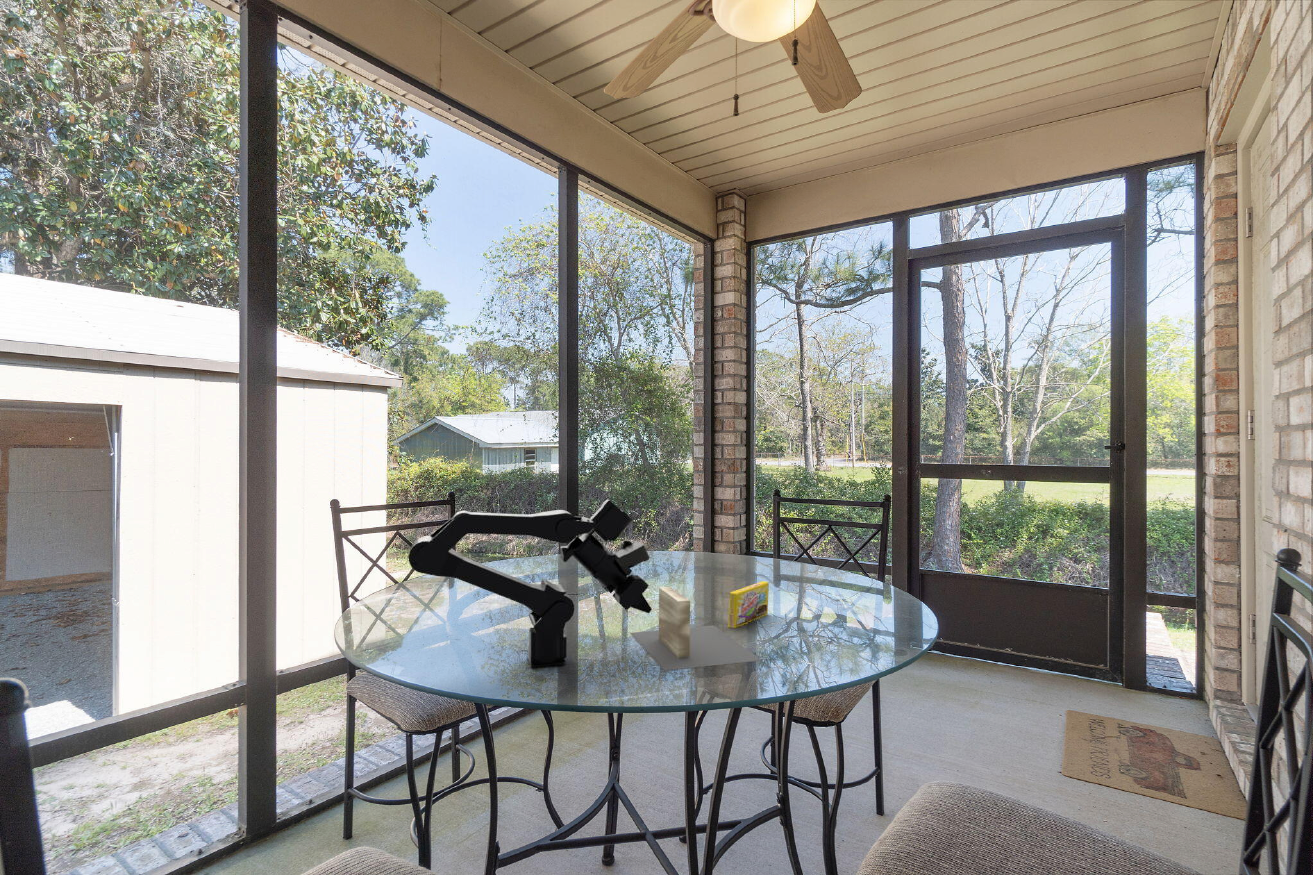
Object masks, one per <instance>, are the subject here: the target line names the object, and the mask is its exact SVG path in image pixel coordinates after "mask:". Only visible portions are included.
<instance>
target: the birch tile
mask: <svg viewBox="0 0 1313 875" xmlns="http://www.w3.org/2000/svg"><path fill="white" fill-rule="evenodd" d="M690 627H691V600H690V599H688V598H687V597H685V595H683V594H681V593H680V592H679V591H677V590H675V589H674V588H673V587H672V586H665V587H664V586H663V587H661V586H660V587H659V588H658V630H659V640H660V641H661V642H662V643H663V644H664V645H665V646H666V647H667V648H668V649H669V650H670V651H671V652H672V653H673V654H674V655H676V656H677V657H678V658H679V657H689V656H690Z"/></svg>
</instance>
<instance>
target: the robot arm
mask: <svg viewBox="0 0 1313 875" xmlns="http://www.w3.org/2000/svg"><path fill="white" fill-rule="evenodd" d="M633 522H634V521H633V520H632V518H631V517H630V516H629V515H628V514H627V512H625V511H624V510H622V509H621V508H620V507H619V506H617V505H615V504H614V503H613V501H611V500H610V499H606V500H605V501H603V503H602V504H601V506H600V507H599V508H598V509H597V510H596V512H595V513H594V514H592V516H591V517H590V518H588V517H585V516H575V515H574V514H572V513H571V512H569V511H567V510H564V509H557V510H549V511H542V512H537V513H531V514H524V513H523V514H520V513H499V512H498V513H497V512H494V513H493V512H476V511H475V512H474V511H473V512H472V511H467V510H459V511H458V512H455V514H454V515H453V516H452V517H451V518H450V519H449V520H447V521H446V522H445V523H444V524H442V525H441V526H439V527H438V528H437V529H436V530H435V531H434V532H433V533H431V534H430V535H425V536H422V537H419V538H417V539H416V540H415V541H414V542H413V543H412V544H411V547H410V550H409V554H408V563H409V565H410V567H411V569H413V570H414V571H415V572H417V573H420V574H425V575H429V576H435V577H441V578H443V577H444V578H453V579H457V580H460V581H462V582H464V583H466V584H470V585H472V586H475V587H478V588H479V589H482V590H485V591H488V592H490V593H492V594H495V595H497V596H499V597H503V598H505V599H508V600H510V601H514V602H515V603H518V604H520V605H523V606H525V607H526V608H527V609H529V610H530V612H529V613H528V617H529V620H530V623H531V625H532V626H533V627H529V628H528V654H527V661H528V664H529V666H530V668H532V669H533V668H534V669H535V668H544V667H545V668H546V667H555V666H564V665H566V659H567V654H568V653H567V648H568V647H567V645H568V643H567V640H568V639H567V636H566V634H565V628H566V627H565V626H566V623H568V622H569V621H570V620H571V619H572V617H573V615H574V612H575V603H574V602H573V600H572V598H571V597H570V596H569V595H568V593H567V591H566V590H565V589H564V587H563V586H562V585H561V584H560V583H553V582H551V581H549V580H547V579H546V578H544V577H543V578H542V579H541V581H540V584H538V583H537V584H536V583H530V582H527V581H525V580H523V579H519V578H517V577H514V576H513V575H510V574H507V573H506V572H505V573H504V572H503V571H500V570H497V569H495V568H493V567H491V566H488V565H485V564H483V563H480V562H477V561H475V560H473V559H470V558H468V557H465V556H463V555H461V554H460V553H459V552H458V551H456V550H454V547H455V546H456V545H457V544H458V543H459V542H460V541H461V540H462V539H463V538H464V537H465V536H466V535H467V534H473V535H475V534H476V535H477V534H478V535H506V536H507V535H508V536H510V535H511V536H530V537H536V538H539V539H541V540H547V541H551V542H555V543H561V544H567V545H561V546H560V547H559V548H560V559H561V560H562V562H564V563H566V562H568V561H569V560H570V559H571V558H574V559H575V561H577V563H578V564H580V565H581V566H582V567H583V568H584V569H585V570H586V571H587V573H588V574H590V575H591V576H592V577H593V578H594V579H595V580H596V581H597V582H598V584H599V585H600V586H601V587H602V589H604V590H605V591H606V592H609V593H610V594H612V593H613V594H612V597H613V598H614V600H615V601H616V602H617V603H618V604H619V605H620V606H621V607H622V608H623V609H624V610H625V611H628V610H630V608H632V609H635V610H638V611H640V612H643V613H647V614H650V613H651V612H652V609H653V608H652V607H651V606H650V603H649V602H648V601H647V599H646V597H645V596H644V593H645V592H646V590H647V589H648V588H649V584H648V582H646V581H645V580H644V579H643V578H642V577H641V576H639V575H638V574H633V569H631V568H634V567H637V566H638V565H640V564H641V563H643V562H644V563H645V562H647V561H649V560H650V559H651V558H650V556H649V553H648V551H647V548H646V546H645V544H644V543H642V542H641V541H634V542H632V541H630V540H629V539H624V540H623V541H620V549H618V551H617V552H616V553H614V552H613V551H611V550H609V549H608V548H607V547H606V546H604V544H602V542H600V541H599V539H597V537H595V535H594V534H596V536H598V537H599V538H600V539H601V540H602V541H603V542H604V543H607V542H608V541H609V542H610V543H611V542H612V543H615V541H617V539H618V538H619V537H620V536H621V535H622V534H623V533H624V531H626V529H627V528H629V526H630V525H631V524H632V523H633ZM631 573H632V574H631Z"/></svg>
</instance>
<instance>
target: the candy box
mask: <svg viewBox="0 0 1313 875" xmlns="http://www.w3.org/2000/svg"><path fill="white" fill-rule="evenodd" d="M769 584H770V582H768V581H765V580H762V581H759V582H757V583H754V584H750V585H747V586H745V587H742V588H740V589H736V590H733V591H730V592H729V604H728V606H729V607H728V625H727V626H728V628H732V629H736V628H738V627H740V626H741V627H743V626H745V625H748V624H749V623H748V622H750V623H752V622H753V621H752V620H754V621H756V620H758V619H761V618H763V617H765V616H767V615H768V613H769V611H768V610H769V591H770V590H769ZM764 615H765V616H764ZM760 617H761V618H760ZM755 619H756V620H755ZM751 621H752V622H751ZM744 624H745V625H744Z"/></svg>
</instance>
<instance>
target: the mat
mask: <svg viewBox="0 0 1313 875" xmlns="http://www.w3.org/2000/svg"><path fill="white" fill-rule="evenodd" d="M629 634H630V635H631V636H632V638H634V640H635V641H636V642H637V643H638V644H639V645H640V646H641V647H642V648H643V649H644V650H645V651H646V653H647V654H648V655H649V656H650V657H651V658H652V659H653V661H655V663H656V664H658V666H660V668H661V669H662V670H663V671H664V672H669V671H679V670H687V669H688V670H689V669H695V668H704V667H714V666H722V665H732V664H742V663H750V662H759V661H762V659H761V657H759V656H757V655H755V654H754V653H753V652H752V651H750V650H749V649H747V648H746V647H745V646H743V645H742V644H741V643H739V642H738V641H736V640H734V639H733V638H732V637H730V636H729V635H728V634H726V633H725V632H724V631H722V630H721V629H719V628H718V627H716V626H715V625H702V626H690V656H689V657H679V658H678V657H677V656H676V655H674V654H673V653H672V652H671V651H670V650H669V649H668V648H667V647H666V646H665V645H664V644H663V643H662V642H661V641H660V640H659V629H658V630H656V629H655V630H649V631H648V630H647V631H635V632H629Z"/></svg>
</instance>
